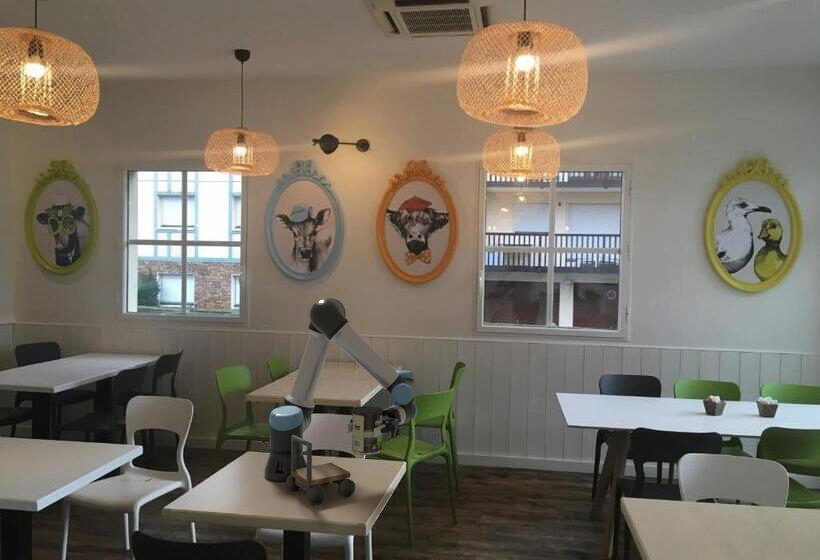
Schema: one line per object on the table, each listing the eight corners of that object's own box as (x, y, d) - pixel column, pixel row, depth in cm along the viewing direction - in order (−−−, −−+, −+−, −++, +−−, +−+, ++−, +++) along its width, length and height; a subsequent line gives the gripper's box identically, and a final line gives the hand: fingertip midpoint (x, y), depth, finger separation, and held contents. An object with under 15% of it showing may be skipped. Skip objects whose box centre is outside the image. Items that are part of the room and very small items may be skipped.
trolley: (309, 506, 197) (309, 445, 197) (286, 491, 210) (286, 434, 210) (355, 495, 207) (355, 437, 207) (330, 481, 220) (330, 427, 220)
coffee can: (385, 448, 219) (386, 407, 219) (377, 456, 209) (377, 413, 209) (357, 445, 221) (357, 405, 221) (347, 454, 211) (347, 411, 211)
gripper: (419, 431, 227) (390, 446, 206) (364, 424, 236) (331, 438, 216) (419, 410, 226) (391, 423, 206) (364, 404, 236) (332, 416, 216)
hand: (360, 430), depth 211 cm, fingers closed on coffee can, 10 cm apart
